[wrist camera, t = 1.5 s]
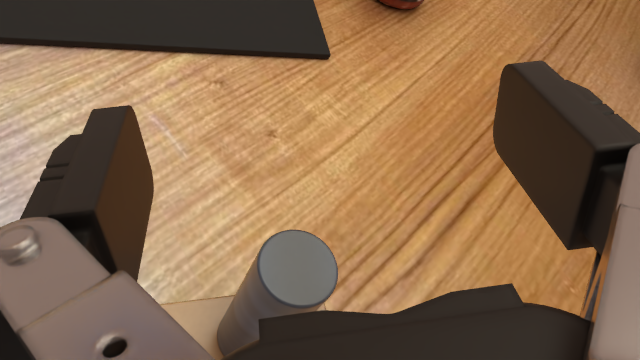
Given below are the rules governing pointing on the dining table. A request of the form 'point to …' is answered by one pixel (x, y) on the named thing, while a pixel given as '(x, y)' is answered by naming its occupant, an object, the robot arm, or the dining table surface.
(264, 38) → the mat
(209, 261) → the dining table surface
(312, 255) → the brush
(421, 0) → the supplement bottle
